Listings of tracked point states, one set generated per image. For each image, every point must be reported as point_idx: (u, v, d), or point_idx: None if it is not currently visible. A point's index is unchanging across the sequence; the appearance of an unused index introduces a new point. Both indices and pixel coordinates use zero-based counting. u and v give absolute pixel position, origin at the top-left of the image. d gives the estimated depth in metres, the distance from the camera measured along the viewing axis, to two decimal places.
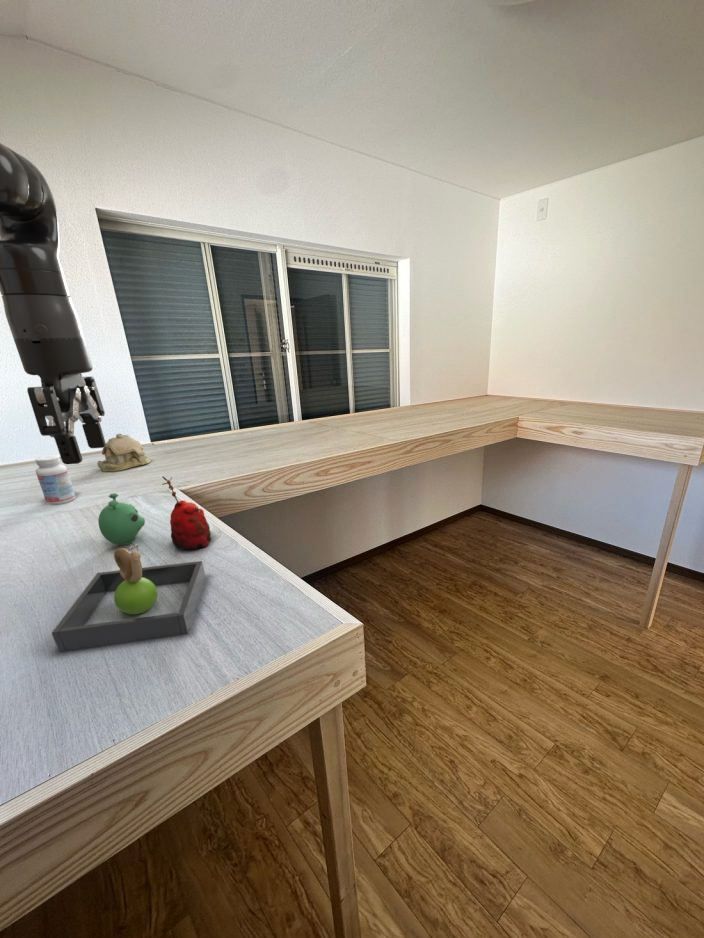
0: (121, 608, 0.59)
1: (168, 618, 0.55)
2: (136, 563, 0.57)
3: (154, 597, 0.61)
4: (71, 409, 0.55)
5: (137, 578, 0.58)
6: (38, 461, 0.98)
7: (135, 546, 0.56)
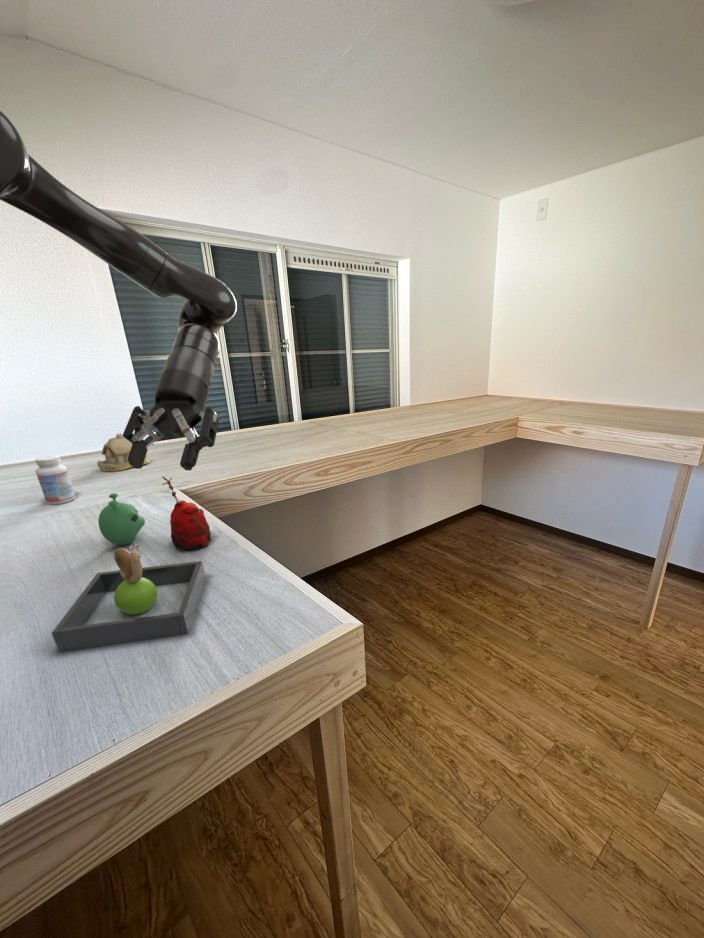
0: (121, 608, 0.59)
1: (168, 618, 0.55)
2: (136, 563, 0.57)
3: (154, 597, 0.61)
4: (196, 433, 0.68)
5: (136, 578, 0.58)
6: (38, 461, 0.98)
7: (135, 546, 0.56)
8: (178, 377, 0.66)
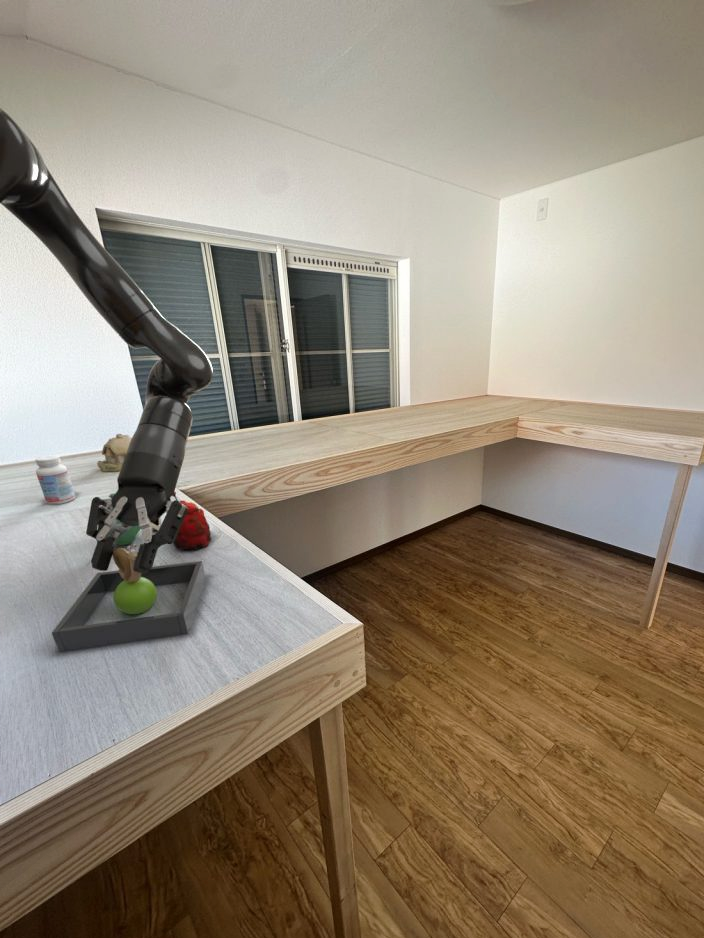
0: (121, 608, 0.59)
1: (168, 618, 0.55)
2: None
3: (153, 597, 0.61)
4: (160, 525, 0.60)
5: (136, 578, 0.58)
6: (38, 461, 0.98)
7: (133, 546, 0.56)
8: (143, 462, 0.59)
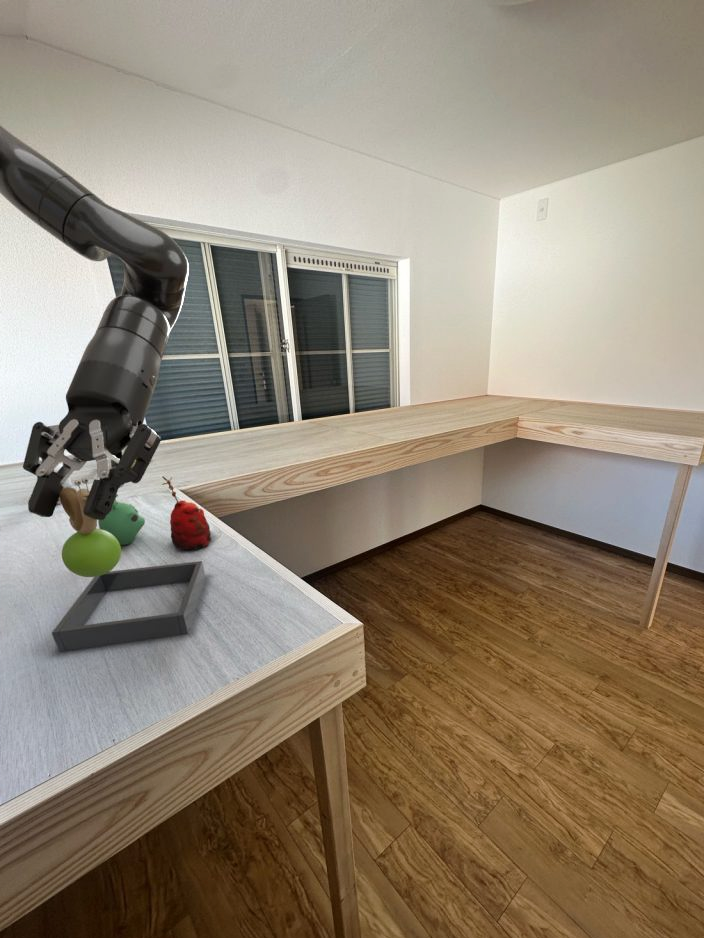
0: (70, 568, 0.44)
1: (168, 618, 0.55)
2: None
3: (115, 554, 0.46)
4: None
5: (89, 527, 0.43)
6: None
7: (83, 480, 0.41)
8: (99, 373, 0.44)
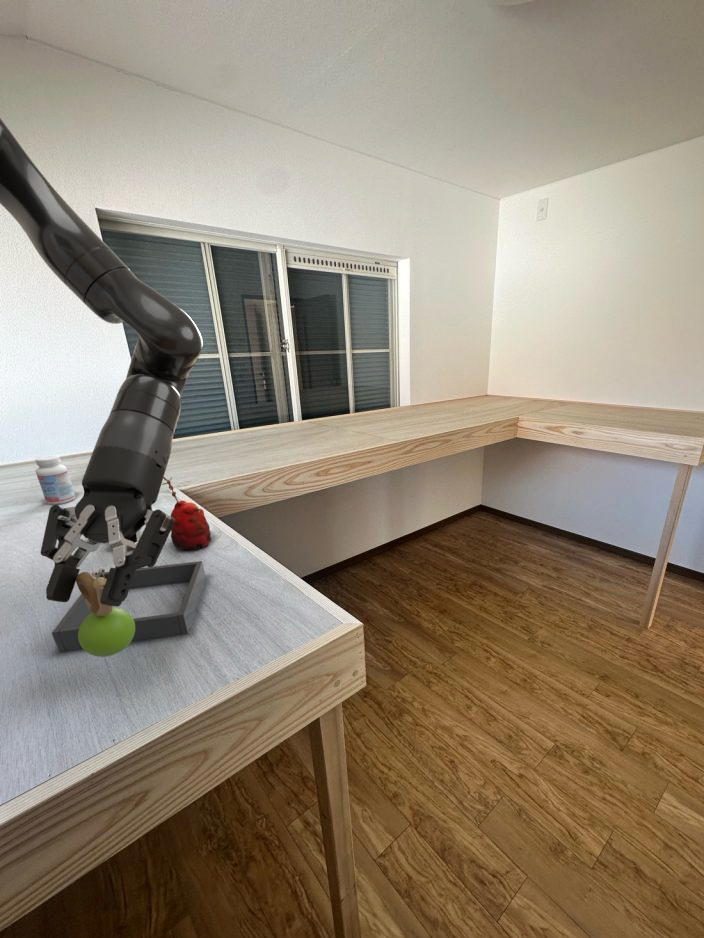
0: (87, 650, 0.45)
1: (168, 618, 0.55)
2: None
3: (130, 633, 0.47)
4: (138, 541, 0.47)
5: (105, 611, 0.44)
6: (38, 461, 0.98)
7: (100, 571, 0.42)
8: (114, 459, 0.45)
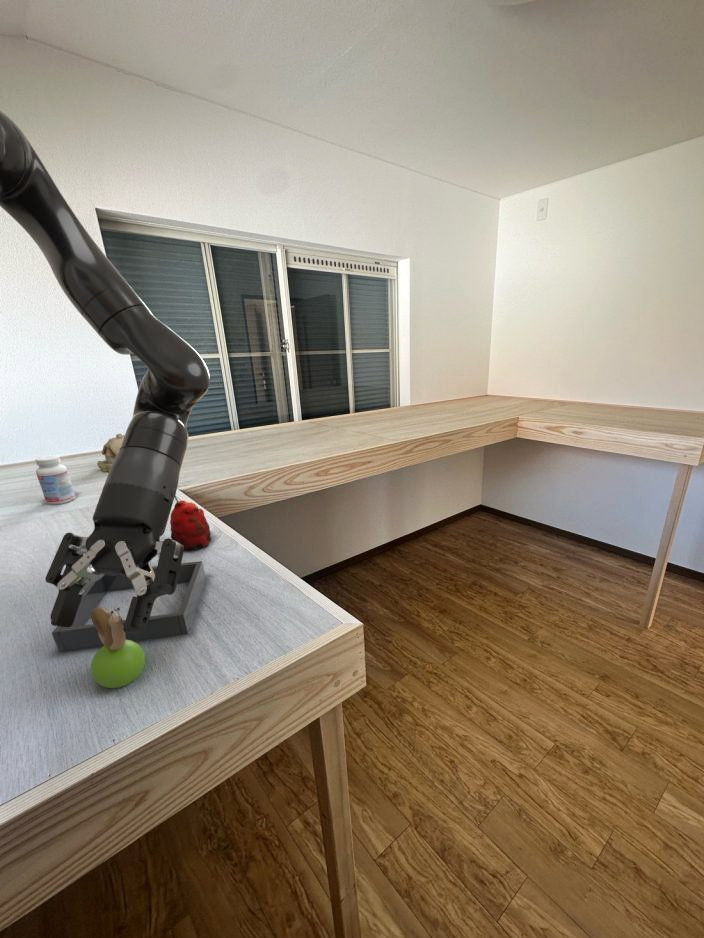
0: (99, 682, 0.47)
1: (168, 618, 0.55)
2: (117, 629, 0.45)
3: (141, 666, 0.49)
4: (152, 570, 0.48)
5: (118, 646, 0.46)
6: (38, 461, 0.98)
7: (116, 609, 0.44)
8: (124, 496, 0.47)
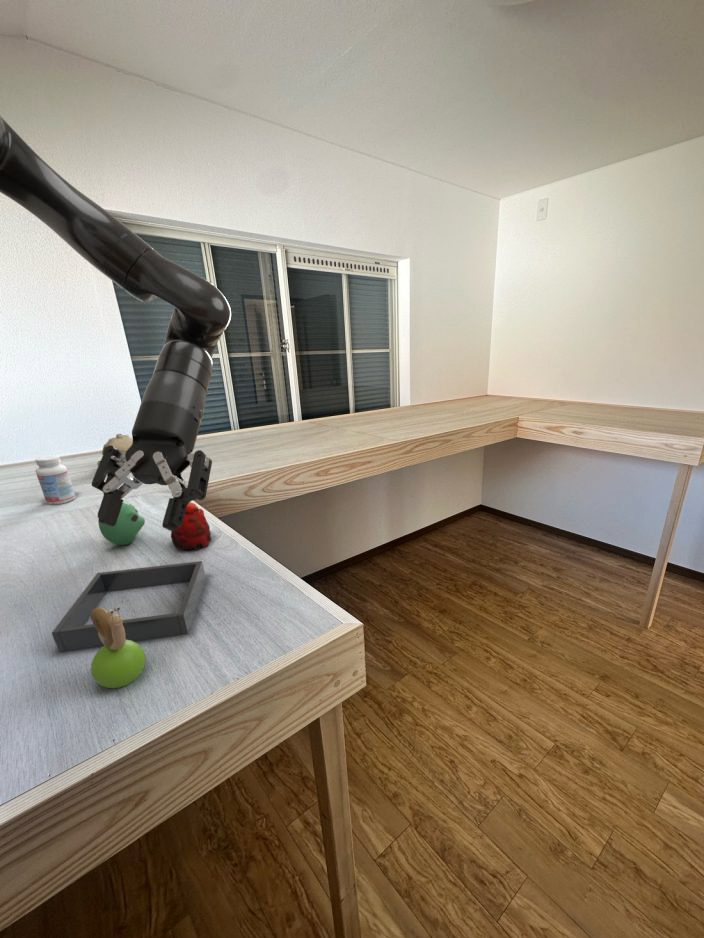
0: (99, 682, 0.47)
1: (168, 618, 0.55)
2: (117, 629, 0.45)
3: (141, 666, 0.49)
4: (184, 480, 0.55)
5: (118, 646, 0.46)
6: (38, 461, 0.98)
7: (116, 609, 0.44)
8: (160, 412, 0.53)
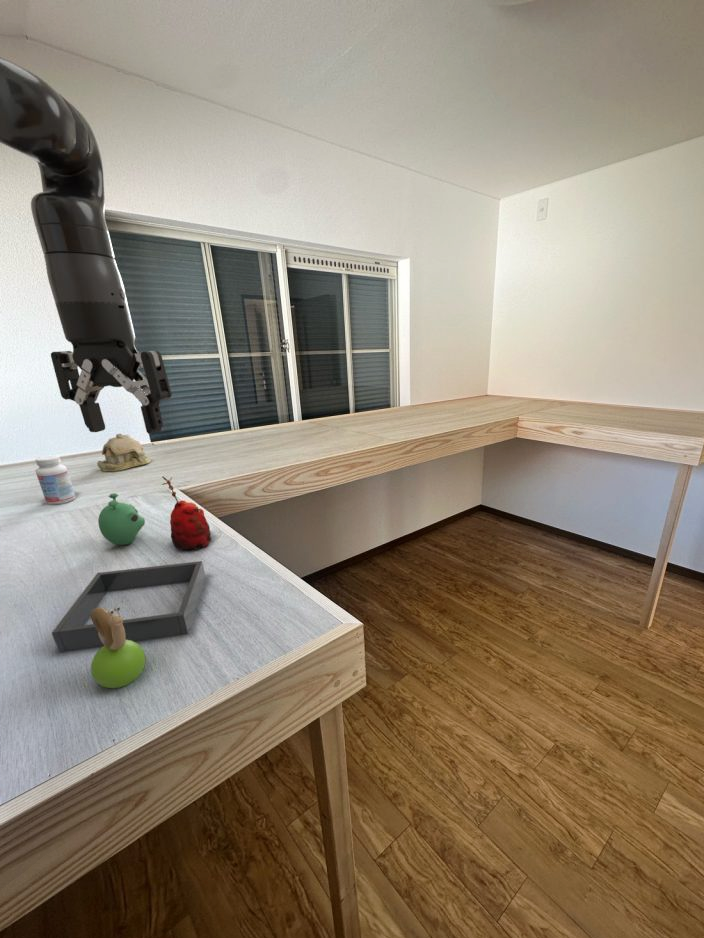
0: (99, 682, 0.47)
1: (168, 618, 0.55)
2: (117, 629, 0.45)
3: (141, 666, 0.49)
4: (143, 377, 0.55)
5: (119, 646, 0.46)
6: (38, 461, 0.98)
7: (116, 609, 0.44)
8: (83, 317, 0.48)
